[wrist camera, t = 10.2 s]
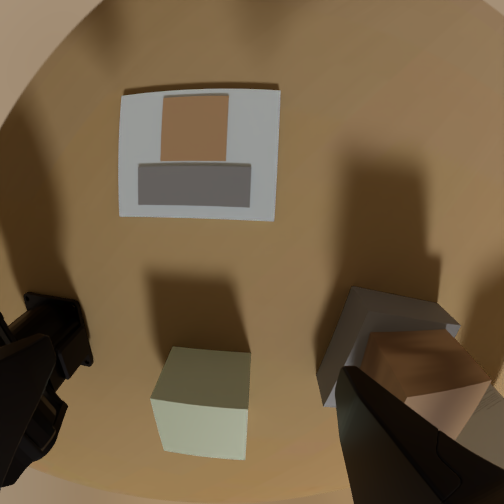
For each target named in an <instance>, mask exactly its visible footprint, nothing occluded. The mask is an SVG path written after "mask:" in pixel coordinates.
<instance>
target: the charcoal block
mask: <svg viewBox="0 0 504 504" xmlns="http://www.w3.org/2000/svg"><path fill="white" fill-rule="evenodd" d="M460 326H461V325H460V324H459V323H458V322H457V321H456V320H455V319H454V318H453V317H451V316H450V315H449V314H448V313H447V312H446V311H445V310H444V309H443V308H442V307H441V306H440V305H439V304H438V303H435V302H429V301H424V300H419V299H414V298H409V297H404V296H399V295H394V294H389V293H384V292H380V291H375V290H370V289H365V288H360V287H355V286H352V287H351V289H350V292H349V295H348V298H347V300H346V303H345V306H344V309H343V311H342V314H341V316H340V319H339V322H338V324H337V327H336V329H335V332H334V334H333V337H332V339H331V342H330V344H329V346H328V349H327V351H326V353H325V356H324V358H323V360H322V363H321V365H320V367H319V370H318V372H317V374H316V376H317V380H318V385H319V389H320V394H321V398H322V403H323V407H336V401H335V386H336V383H337V379H338V375H339V372H340V369H341V367H343V366H357V367H358V368H359V369H360V366H361V363H362V359H363V356H364V353H365V349H366V346H367V342H368V339H369V335H370V332H397V331H422V330H439V329H446V330H447V331H448V332H449V333H450V334H451V335H452V336H453V337H454V338H455V336H456V334H457V332H458V330H459V328H460Z"/></svg>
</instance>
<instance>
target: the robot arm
mask: <svg viewBox="0 0 504 504" xmlns="http://www.w3.org/2000/svg"><path fill="white" fill-rule="evenodd" d="M24 301H25V305H26V308H27V311H26V312H25V313H24V314H22V315H21V316H20V317H19V318H17V319H16V320H15V321H14V322H12V323H11V324H10V325H9V326H7V324H6V322H5V321H4V317H3V315H2V313H1V312H0V490H1V487H5V486H9V485H12V484H14V483H15V482H16V481H17V479H18V478H19V477H20V475H21V474H22V473H23V471H24V470H25V469H26V468H27V467H28V466H29V465H30V464H31V463H32V462H34V461H37V460H39V459H41V458H42V457H44V456H45V455H46V454H47V453H48V452H49V451H50V450H51V448H52V447H53V445H54V444H55V442H56V439H57V436H58V433H59V430H60V427H61V425H62V422H63V419H64V416H65V413H66V410H67V408H68V405H67V404H66V403H65V402H64V401H62V400H61V399H60V398H59V396H58V395H57V394H56V393H55V392H56V391H57V390H58V388H59V387H60V386H61V384H62V383H63V382H64V380H65V379H67V380H68V379H70V378H71V376H72V375H73V374H74V372H75V371H76V370H77V368H78V367H79V366H80V365H84V366H88V367H90V366H91V365H92V364H93V358H92V355H91V351H90V347H89V343H88V339H87V335H86V331H85V327H84V323H83V319H82V314H81V310H80V305H79V303H78V302H77V301H76V300H73V299H67V298H61V297H55V296H49V295H43V294H37V293H32V292H27V293H25V294H24ZM73 305H74V307H75V308H74V307H73ZM335 401H336V410H337V419H338V428H339V437H340V443H341V447H342V452H343V456H344V460H345V465H346V469H347V474H348V478H349V483H350V487H351V491H352V497H353V501H354V504H504V469H503V468H501V467H499V466H497V465H495V464H493V463H491V462H490V461H488V460H486V459H484V458H482V457H481V456H479V455H477V454H475V453H474V452H472V451H470V450H469V449H467V448H465V447H464V446H462V445H461V444H459V443H458V442H456V441H455V440H453V439H452V438H451V437H449V436H448V435H446V434H445V433H444V432H442V431H441V430H439V431H438V428H437V427H435V426H434V425H433V424H431V423H430V422H429V421H427V420H426V419H425V418H423V417H422V416H421V415H419V414H418V413H417V412H415V411H414V410H413V409H411V408H410V407H409V406H407V405H406V404H405V403H404V402H402V401H401V400H400V399H398V398H397V397H396V396H394V395H393V394H392V393H390V392H389V391H388V390H387V389H385V388H384V387H383V386H381V385H380V384H379V383H377V382H376V381H375V380H374V379H372V378H371V377H370V376H368V375H367V374H366V373H365V372H363V371H362V370H361V369H359V368H358V367H357V366H343V367H341V369H340V372H339V375H338V379H337V383H336V386H335Z"/></svg>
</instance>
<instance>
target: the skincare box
mask: <svg viewBox="0 0 504 504" xmlns="http://www.w3.org/2000/svg"><path fill="white" fill-rule="evenodd" d="M455 441H456V442H458V443H459V444H461V445H462V446H464V447H465V448H467V449H469V450H470V451H472V452H474V453H475V454H477V455H479V456H481V457H482V458H484V459H486V460H488V461H490V462H491V463H493V464H495V465H497V466H499V467H501V468H503V469H504V398H503V397H502V396H501V394H500V393H499V392H498V391H497V390H496V389H495V388H494V387H493V386H492V384H491V383H490V385H489V387H488V388H487V390H486V392H485V394H484V396H483V397H482V399H481V401H480V403H479V404H478V406H477V408H476V409H475V411H474V412H473V414H472V416H471V417H470V419H469V420H468V422H467V423H466V425H465V426H464V428H463V429H462V431H461V432H460V434H459V435H458V437H457V438H456V439H455Z"/></svg>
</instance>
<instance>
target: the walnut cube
mask: <svg viewBox="0 0 504 504" xmlns="http://www.w3.org/2000/svg"><path fill="white" fill-rule="evenodd" d="M360 369H361V370H362V371H363V372H365V373H366V374H367V375H368V376H370V377H371V378H372V379H374V380H375V381H376V382H377V383H379V384H380V385H381V386H383V387H384V388H385V389H387V390H388V391H389V392H390V393H392V394H393V395H394V396H396V397H397V398H398V399H400V400H401V401H402V402H404V403H405V404H406V405H407V406H409V407H410V408H411V409H413V410H414V411H415V412H417V413H418V414H419V415H421V416H422V417H423V418H425V419H426V420H427V421H429V422H430V423H431V424H433V425H434V426H435V427H437V428H438V431H439V430H441V431H442V432H444V433H445V434H446V435H448V436H449V437H451V438H452V439H453V440H455V439H456V438H457V437H458V435H459V434H460V432H461V431H462V429H463V428H464V426H465V425H466V423H467V422H468V420H469V419H470V417H471V416H472V414H473V412H474V411H475V409H476V408H477V406H478V404H479V403H480V401H481V399H482V397H483V396H484V394H485V392H486V390H487V388H488V387H489V385H490V383H491V381H492V380H491V378H490V377H489V376H488V375H487V374H486V373H485V371H484V370H483V369H482V368H481V367H480V366H479V365H478V363H477V362H476V361H475V360H474V359H473V358H472V357H471V356H470V355H469V353H468V352H467V351H466V350H465V349H464V348H463V347H462V346H461V345H460V344H459V343H458V341H457V340H456V339H455V338H454V337H453V336H452V335H451V334H450V333H449V332H448V331H447V330H446V329H439V330H422V331H397V332H370V335H369V339H368V342H367V346H366V349H365V353H364V356H363V359H362V363H361V366H360Z"/></svg>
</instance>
